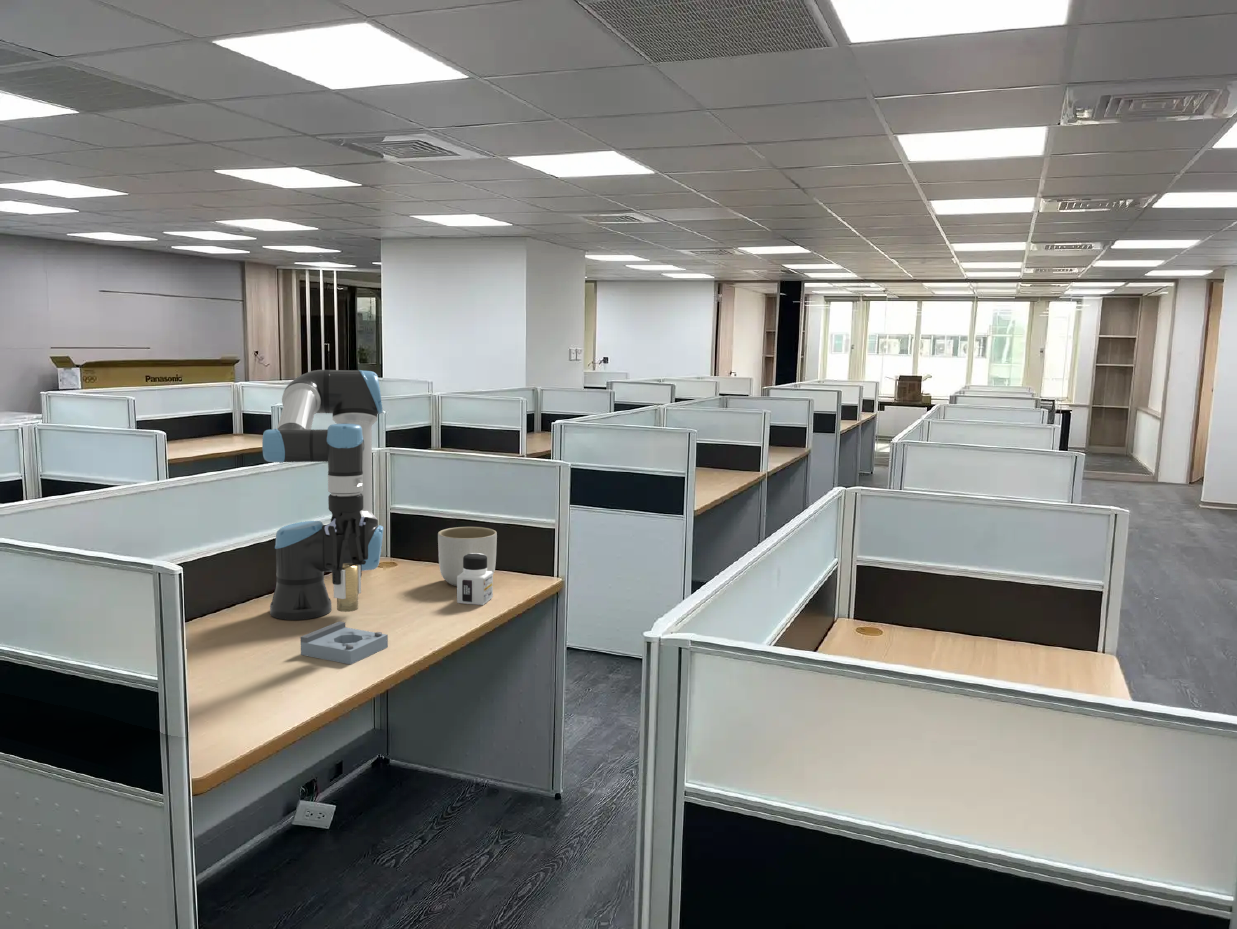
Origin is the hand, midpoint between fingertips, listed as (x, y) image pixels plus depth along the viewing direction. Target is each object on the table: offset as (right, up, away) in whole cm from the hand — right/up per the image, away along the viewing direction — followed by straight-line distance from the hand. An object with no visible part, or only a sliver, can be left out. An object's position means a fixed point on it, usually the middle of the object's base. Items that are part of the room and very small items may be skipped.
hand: (347, 595), depth 209 cm
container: (+22, -8, +46) cm, 51 cm away
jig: (-1, -13, +2) cm, 13 cm away
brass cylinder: (0, -3, 0) cm, 3 cm away
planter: (+17, -6, +64) cm, 66 cm away
